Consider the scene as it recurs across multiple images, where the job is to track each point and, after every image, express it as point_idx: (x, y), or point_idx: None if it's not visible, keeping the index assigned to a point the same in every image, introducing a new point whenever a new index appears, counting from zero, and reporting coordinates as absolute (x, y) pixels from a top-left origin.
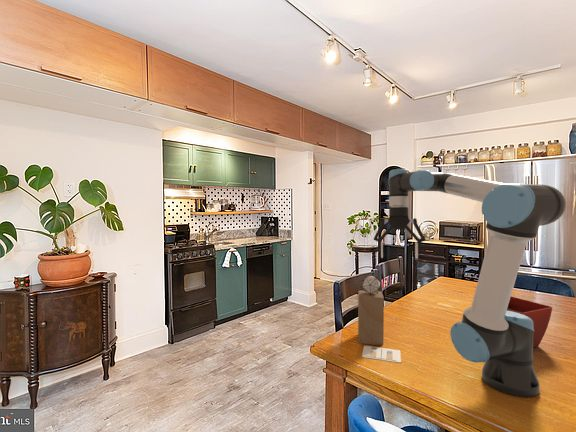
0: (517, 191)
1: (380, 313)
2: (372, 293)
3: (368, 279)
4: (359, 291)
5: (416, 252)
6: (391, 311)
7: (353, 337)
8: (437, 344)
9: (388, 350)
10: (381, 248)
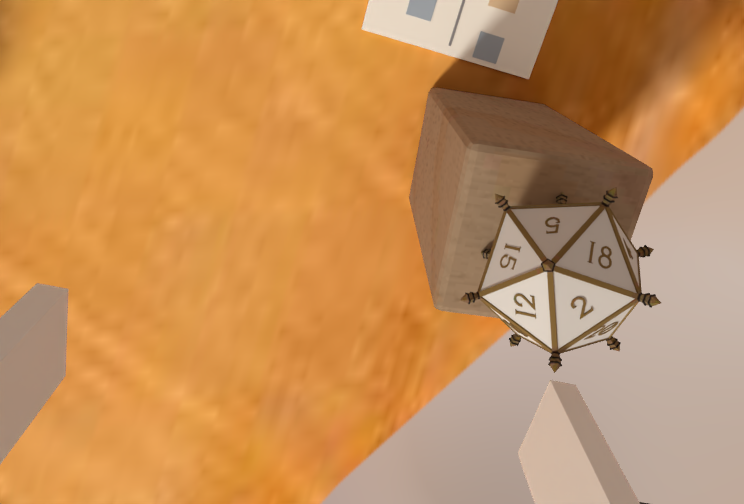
0: None
1: (473, 120)
2: None
3: (617, 265)
4: None
5: (4, 345)
6: (276, 488)
7: None
8: (152, 115)
9: (421, 25)
10: (627, 494)
